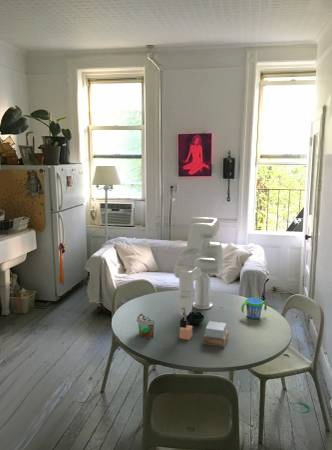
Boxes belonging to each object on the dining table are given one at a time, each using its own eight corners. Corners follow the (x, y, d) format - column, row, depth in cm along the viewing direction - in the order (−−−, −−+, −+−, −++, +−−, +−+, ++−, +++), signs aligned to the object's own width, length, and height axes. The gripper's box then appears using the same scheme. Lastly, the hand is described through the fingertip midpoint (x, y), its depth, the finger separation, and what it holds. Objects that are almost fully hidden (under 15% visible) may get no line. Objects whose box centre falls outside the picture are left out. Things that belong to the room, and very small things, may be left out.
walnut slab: (207, 335, 210) (208, 327, 209) (228, 338, 206) (228, 330, 205) (203, 344, 199) (203, 336, 198) (224, 347, 196) (224, 339, 195)
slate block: (209, 328, 207) (209, 321, 206) (226, 331, 204) (226, 323, 203) (205, 336, 198) (205, 328, 198) (222, 338, 196) (223, 330, 195)
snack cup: (262, 312, 238) (263, 296, 236) (269, 319, 228) (270, 303, 226) (238, 313, 236) (238, 298, 234) (244, 321, 226) (244, 304, 224)
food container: (132, 332, 211) (132, 315, 209) (142, 329, 215) (141, 312, 213) (145, 341, 202) (144, 323, 200) (154, 338, 205) (154, 320, 203)
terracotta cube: (182, 333, 210) (182, 324, 209) (192, 335, 208) (192, 325, 207) (179, 338, 205) (179, 328, 204) (189, 340, 203) (189, 330, 202)
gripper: (184, 286, 211) (183, 316, 214) (174, 297, 195) (174, 329, 198) (197, 288, 209) (196, 318, 211) (188, 298, 193) (188, 331, 195)
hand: (185, 323), depth 205 cm, fingers open, 9 cm apart
